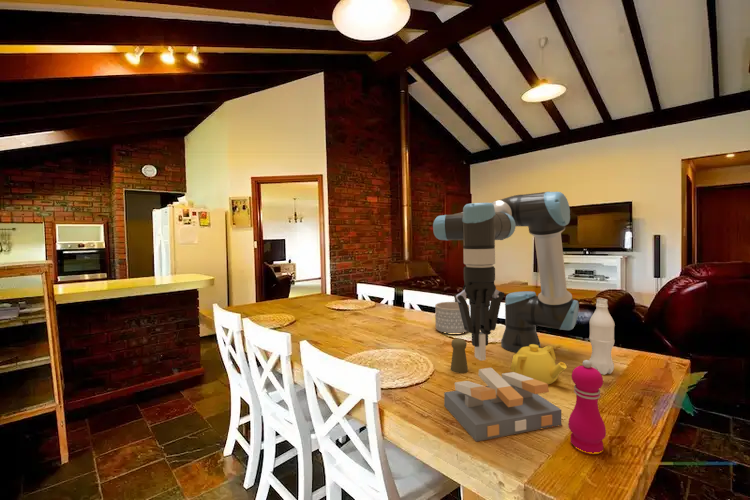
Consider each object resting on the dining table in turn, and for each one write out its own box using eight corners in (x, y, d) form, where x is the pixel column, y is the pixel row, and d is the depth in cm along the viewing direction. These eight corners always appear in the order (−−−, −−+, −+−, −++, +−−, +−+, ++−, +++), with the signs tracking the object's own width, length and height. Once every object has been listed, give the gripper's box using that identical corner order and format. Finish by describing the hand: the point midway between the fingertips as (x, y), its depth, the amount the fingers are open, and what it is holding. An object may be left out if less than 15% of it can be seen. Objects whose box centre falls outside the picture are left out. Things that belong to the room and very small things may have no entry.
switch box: (517, 394, 102) (517, 373, 102) (562, 425, 86) (562, 400, 85) (444, 406, 97) (444, 383, 96) (476, 442, 80) (476, 415, 79)
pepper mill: (561, 437, 81) (561, 355, 80) (590, 435, 81) (590, 353, 80) (582, 458, 73) (583, 367, 72) (613, 455, 74) (614, 365, 73)
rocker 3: (514, 379, 100) (513, 371, 100) (548, 391, 86) (547, 383, 86) (502, 380, 99) (501, 373, 99) (535, 394, 85) (534, 385, 85)
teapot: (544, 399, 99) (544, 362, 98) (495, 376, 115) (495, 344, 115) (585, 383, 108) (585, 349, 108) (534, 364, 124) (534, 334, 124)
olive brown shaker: (468, 373, 118) (468, 342, 117) (450, 372, 119) (450, 341, 118) (467, 366, 124) (467, 337, 123) (450, 365, 125) (450, 336, 124)
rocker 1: (468, 388, 96) (467, 380, 96) (496, 398, 83) (495, 389, 83) (455, 390, 95) (454, 382, 95) (481, 400, 82) (480, 391, 82)
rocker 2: (490, 373, 98) (491, 367, 98) (522, 404, 85) (523, 397, 84) (478, 375, 97) (478, 369, 97) (508, 407, 84) (509, 400, 83)
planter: (435, 335, 161) (435, 308, 161) (435, 325, 178) (435, 301, 177) (471, 336, 159) (471, 309, 158) (467, 326, 175) (467, 301, 174)
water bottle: (611, 369, 118) (612, 298, 117) (616, 377, 112) (617, 302, 110) (587, 366, 121) (588, 296, 120) (590, 374, 115) (591, 300, 113)
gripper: (493, 262, 90) (494, 350, 91) (448, 265, 87) (449, 356, 88) (511, 265, 82) (512, 360, 84) (462, 268, 79) (464, 367, 81)
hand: (480, 358), depth 86 cm, fingers closed
